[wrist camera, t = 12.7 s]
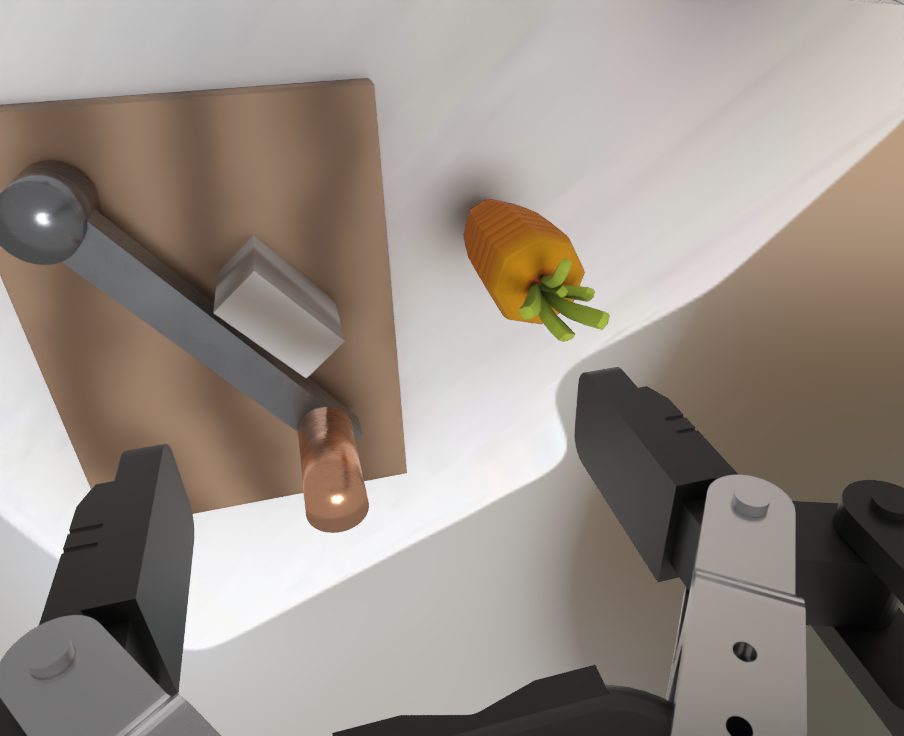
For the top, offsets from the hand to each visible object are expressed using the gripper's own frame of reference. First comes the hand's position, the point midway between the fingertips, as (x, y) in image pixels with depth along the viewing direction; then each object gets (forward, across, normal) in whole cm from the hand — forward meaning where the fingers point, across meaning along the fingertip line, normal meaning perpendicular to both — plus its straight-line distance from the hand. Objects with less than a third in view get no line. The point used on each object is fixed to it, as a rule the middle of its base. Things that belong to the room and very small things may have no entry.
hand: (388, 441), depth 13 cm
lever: (+25, +7, +9) cm, 28 cm away
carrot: (+28, -10, +6) cm, 30 cm away
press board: (+28, +6, +11) cm, 31 cm away
